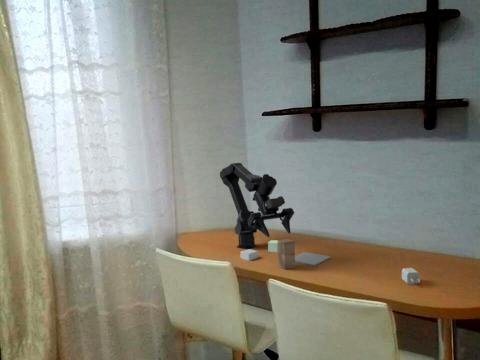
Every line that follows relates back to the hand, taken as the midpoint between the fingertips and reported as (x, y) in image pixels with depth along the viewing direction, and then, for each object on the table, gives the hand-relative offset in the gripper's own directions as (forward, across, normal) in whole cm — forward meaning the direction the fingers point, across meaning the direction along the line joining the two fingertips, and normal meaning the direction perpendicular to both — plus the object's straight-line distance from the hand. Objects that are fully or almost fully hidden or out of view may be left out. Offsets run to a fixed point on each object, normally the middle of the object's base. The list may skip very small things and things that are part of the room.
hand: (279, 234), depth 167 cm
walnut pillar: (+11, 0, +5) cm, 12 cm away
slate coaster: (+9, +12, +7) cm, 17 cm away
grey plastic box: (-1, -7, +18) cm, 19 cm away
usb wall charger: (+38, +25, -20) cm, 50 cm away
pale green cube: (-4, +7, +20) cm, 22 cm away
